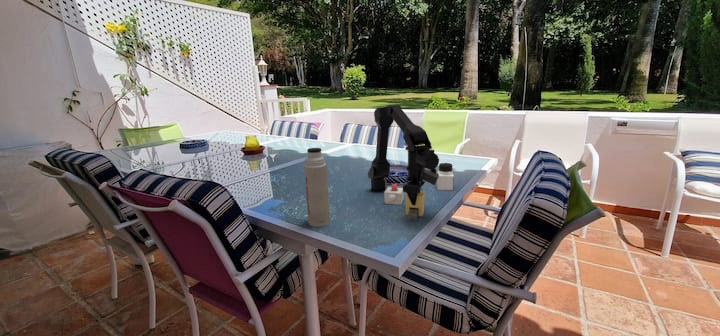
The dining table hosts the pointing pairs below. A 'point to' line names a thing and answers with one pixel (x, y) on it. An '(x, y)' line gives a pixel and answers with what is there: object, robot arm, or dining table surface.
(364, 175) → the dining table surface
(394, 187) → the button
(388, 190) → the white button housing
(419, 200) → the block
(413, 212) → the rail
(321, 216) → the thermos bottle
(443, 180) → the medicine bottle
